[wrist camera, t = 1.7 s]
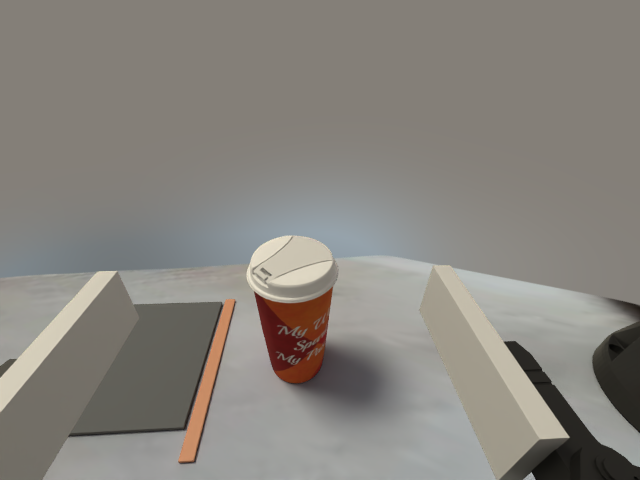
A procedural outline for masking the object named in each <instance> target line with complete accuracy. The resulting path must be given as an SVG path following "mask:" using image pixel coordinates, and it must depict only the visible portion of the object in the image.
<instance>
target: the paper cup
mask: <svg viewBox="0 0 640 480" xmlns="http://www.w3.org/2000/svg"><path fill="white" fill-rule="evenodd" d="M337 277H338V266H337V263H336V261H335V260H334V258H333V257H332V253H331V252H330V250H329V249H328V248H327V247H326V246H325V245H324V244H322V243H321V242H319V241H317V240H315V239H312V238H308V237H302V236H284V237H279V238H275V239H272V240H270V241H268V242H266V243H264V244H262V245H261V246H260V247H259V248H258V249H257V250H256V251H255V252H254V254H253V256H252V258H251V262H250V265H249V267H248V270H247V280H248V283H249V285H250V287H251V288H252V289H253V290H254V293H255V298H256V302H257V306H258V311H259V316H260V320H261V325H262V330H263V333H264V337H265V341H266V345H267V349H268V353H269V357H270V361H271V364H272V367H273V370H274V372H275V373H276V375H277V376H278V377H279V378H280V379H282V380H284V381H286V382H289V383H303V382H306V381H308V380H310V379H312V378H313V377H314V376H315V375H316V374H317V373H318V371H319V370H320V368H321V365H322V361H323V356H324V349H325V342H326V335H327V327H328V320H329V312H330V305H331V297H332V289H333V285H334V284H335V282H336V280H337Z"/></svg>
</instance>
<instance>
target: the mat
mask: <svg viewBox="0 0 640 480" xmlns="http://www.w3.org/2000/svg"><path fill="white" fill-rule="evenodd" d="M134 307H135V309H136V311H137V313H138V315H139V319H138V321H137V323H136V324H135V326H134V328H133V329H132V331H131V333H130V334H129V336H128V338H127V339H126V341H125V343H124V344H123V346H122V348H121V349H120V351H119V353H118V354H117V356H116V358H115V359H114V361H113V363H112V364H111V366H110V368H109V369H108V371H107V373H106V374H105V376H104V378H103V379H102V381H101V383H100V384H99V386H98V388H97V389H96V391H95V392H94V394H93V396H92V397H91V399H90V401H89V402H88V404H87V406H86V407H85V409H84V411H83V412H82V414H81V416H80V417H79V419H78V421H77V422H76V424H75V426H74V427H73V429H72V431H71V432H70V434H69V436H71V435H90V434H108V433H126V432H144V431H162V430H181V429H185V425H186V422H187V419H188V416H189V412H190V409H191V406H192V402H193V399H194V396H195V392H196V389H197V386H198V383H199V379H200V376H201V373H202V369H203V366H204V363H205V360H206V356H207V353H208V350H209V346H210V343H211V340H212V336H213V333H214V330H215V327H216V323H217V320H218V317H219V313H220V310H221V307H222V302H201V303H168V304H135V305H134Z"/></svg>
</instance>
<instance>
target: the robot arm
mask: <svg viewBox="0 0 640 480" xmlns="http://www.w3.org/2000/svg"><path fill="white" fill-rule="evenodd" d="M420 313H421V315H422V317H423V319H424V321H425V324H426V326H427V328H428V330H429V332H430V335H431V337H432V339H433V341H434V343H435V346H436V348H437V350H438V352H439V354H440V357H441V359H442V361H443V363H444V365H445V367H446V370H447V372H448V374H449V376H450V378H451V381H452V383H453V385H454V387H455V389H456V392H457V394H458V396H459V398H460V400H461V403H462V405H463V407H464V409H465V411H466V414H467V416H468V418H469V420H470V422H471V424H472V427H473V429H474V431H475V433H476V435H477V438H478V440H479V442H480V444H481V446H482V449H483V451H484V453H485V455H486V457H487V460H488V462H489V464H490V466H491V468H492V471H493V473H494V475H495V477H496V479H497V480H523V479H524V478H525V477H526V476H527V475H528V474H530V473H531V472H532V474H533V475H534V477H535V479H536V480H640V467H637V466H634V465H632V464H631V463H630V462H629V461H628V460H627V459H626V458H625V457H624V456H622V455H621V454H619V453H618V452H616V451H615V450H613V449H612V448H609V447H607V446H604V445H602V444H600V443H599V442H598V441H597V440H596V439H595V438H594V436H593V435H592V434H591V433H590V432H589V430H588V429H587V428H586V426H585V425H584V424H583V422H582V421H581V420H580V418H579V417H578V416H577V415H576V413H575V412H574V411H573V409H572V408H571V407H570V405H569V404H568V403H567V401H566V400H565V399H564V397H563V396H562V395H561V393H560V392H559V391H558V389H557V388H556V387H555V385H552V383H551V382H552V381H551V380H550V379H549V377H548V376H547V375H546V374H545V372H543V371H542V368H541V367H540V366H539V364H538V363H537V362H536V360H535V359H534V358H533V356H532V355H531V354H530V353H529V352H528V351H527V350H525V349H524V348H523V347H522V346H520V345H519V344H518V343H517V342H516V341H508V342H503V341H502V339H501V338H500V336H499V335H498V333H497V332H496V331H495V329H494V328H493V326H492V325H491V323H490V322H489V320H488V319H487V318H486V316H485V315H484V313H483V312H482V310H481V309H480V307H479V306H478V305H477V303H476V302H475V300H474V299H473V297H472V296H471V295H470V293H469V292H468V290H467V289H466V287H465V286H464V284H463V283H462V282H461V280H460V279H459V277H458V276H457V274H456V273H455V271H454V270H453V269H452V267H451V266H450V265H441V266H433V267H432V271H431V274H430V277H429V280H428V284H427V287H426V290H425V293H424V297H423V300H422V303H421V306H420ZM138 319H139V315H138V313H137V311H136V309H135V307H134V305H133V303H132V301H131V299H130V297H129V294H128V292H127V290H126V288H125V286H124V284H123V282H122V280H121V278H120V276H119V273H118V271H98V272H97V273H96V274H95V275H94V276H93V277H92V278H91V279H90V280H89V281H88V283H87V284H86V285H85V286H84V287H83V288H82V289H81V290H80V291H79V292H78V293H77V295H76V296H75V297H74V298H73V299H72V300H71V301H70V302H69V303H68V304H67V306H66V307H65V308H64V309H63V310H62V311H61V312H60V313H59V314H58V315H57V316H56V318H55V319H54V320H53V321H52V322H51V323H50V324H49V325H48V326H47V327H46V328H45V330H44V331H43V332H42V333H41V334H40V335H39V336H38V337H37V338H36V339H35V340H34V342H33V343H32V344H31V345H30V346H29V347H28V348H27V349H26V350H25V351H24V352H23V354H22V355H21V356H20V357H19V358H18V359H9V360H8V361H7V362H5V363H4V364H2V365H1V366H0V480H42V479H43V477H44V476H45V474H46V472H47V471H48V469H49V467H50V466H51V464H52V462H53V461H54V459H55V457H56V456H57V454H58V452H59V451H60V449H61V447H62V446H63V444H64V442H65V441H66V439H67V437H68V436H69V434H70V432H71V431H72V429H73V427H74V426H75V424H76V422H77V421H78V419H79V417H80V416H81V414H82V412H83V411H84V409H85V407H86V406H87V404H88V402H89V401H90V399H91V397H92V396H93V394H94V392H95V391H96V389H97V388H98V386H99V384H100V383H101V381H102V379H103V378H104V376H105V374H106V373H107V371H108V369H109V368H110V366H111V364H112V363H113V361H114V359H115V358H116V356H117V354H118V353H119V351H120V349H121V348H122V346H123V344H124V343H125V341H126V339H127V338H128V336H129V334H130V333H131V331H132V329H133V328H134V326H135V324H136V323H137V321H138ZM593 369H594V372H595V375H596V378H597V380H598V382H599V384H600V386H601V387H602V389H603V391H604V392H605V394H606V395H607V397H608V398H609V399H610V401H611V402H612V403H613V404H614V406H615V407H616V408H617V409H618V410H619V411H620V413H621V414H622V415H623V416H624V417H625V418H626V419H627V420H628V421H629V422H630V423H631V424H632V425H633V426H634V427H635V428H636V429H637V430H639V431H640V321H639V322H636V323H634V324H632V325H629V326H627V327H625V328H622V329H620V330H618V331H615V332H614V333H612V334H611V335H609V336H608V337H607V338H606V339H605V340H604V341H603V342H602V343H601V344H600V345H599V347H598V348H597V349H596V350H595V352H594V355H593Z"/></svg>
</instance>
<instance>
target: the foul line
mask: <svg viewBox="0 0 640 480" xmlns="http://www.w3.org/2000/svg"><path fill="white" fill-rule="evenodd" d="M234 304H235V299H228V300H226V301H225V304H224V308H223V311H222V314H221V318H220V321H219V325H218V328H217V331H216V335H215V338H214V341H213V345H212V348H211V352H210V355H209V358H208V362H207V365H206V369H205V372H204V375H203V379H202V382H201V386H200V389H199V392H198V396H197V399H196V402H195V406H194V409H193V413H192V416H191V419H190V423H189V426H188V430H187V433H186V436H185V440H184V443H183V447H182V450H181V453H180V457H179V460H178V462H179V463H185V462H194V460H195V457H196V453H197V449H198V445H199V441H200V437H201V433H202V429H203V425H204V421H205V417H206V414H207V410H208V406H209V402H210V398H211V394H212V390H213V386H214V382H215V378H216V374H217V371H218V367H219V363H220V359H221V355H222V351H223V347H224V343H225V339H226V335H227V332H228V328H229V324H230V320H231V316H232V312H233V308H234Z"/></svg>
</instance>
